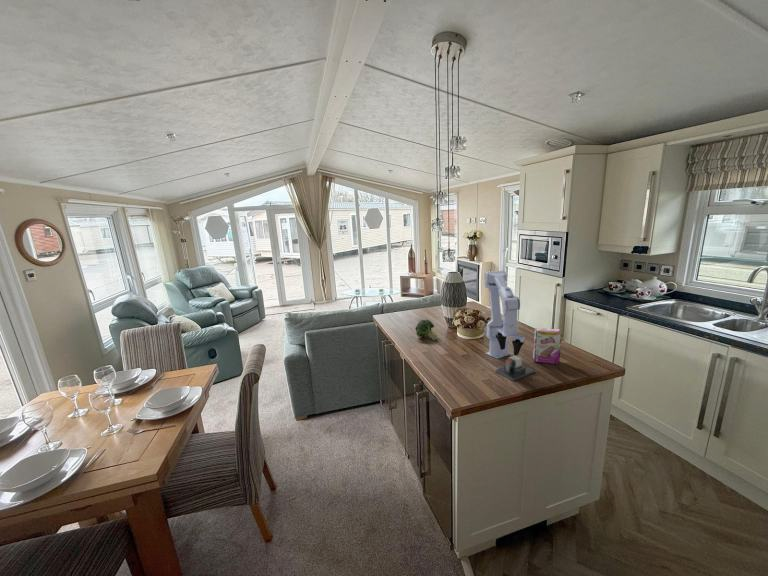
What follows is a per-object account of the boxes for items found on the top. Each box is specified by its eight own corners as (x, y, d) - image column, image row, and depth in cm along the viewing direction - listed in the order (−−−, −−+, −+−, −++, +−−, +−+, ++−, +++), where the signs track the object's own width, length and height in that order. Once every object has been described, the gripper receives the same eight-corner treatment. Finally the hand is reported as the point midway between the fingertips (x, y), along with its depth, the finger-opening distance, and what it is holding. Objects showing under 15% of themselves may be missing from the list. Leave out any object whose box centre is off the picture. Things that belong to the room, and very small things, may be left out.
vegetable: (425, 341, 180) (409, 325, 189) (430, 349, 191) (414, 333, 199) (440, 327, 182) (423, 312, 191) (444, 335, 192) (427, 321, 201)
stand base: (516, 364, 151) (516, 350, 150) (534, 372, 143) (535, 358, 141) (495, 372, 145) (495, 357, 144) (513, 381, 136) (513, 366, 135)
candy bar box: (534, 362, 152) (535, 330, 149) (532, 358, 157) (534, 327, 153) (559, 364, 148) (562, 332, 145) (557, 360, 153) (560, 328, 150)
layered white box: (514, 367, 146) (514, 355, 145) (521, 370, 143) (522, 358, 142) (507, 369, 144) (507, 357, 143) (514, 373, 141) (515, 361, 140)
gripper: (491, 321, 144) (490, 348, 147) (517, 330, 132) (516, 359, 134) (502, 318, 147) (501, 345, 150) (528, 326, 135) (527, 355, 138)
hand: (509, 351), depth 142 cm, fingers open, 7 cm apart
